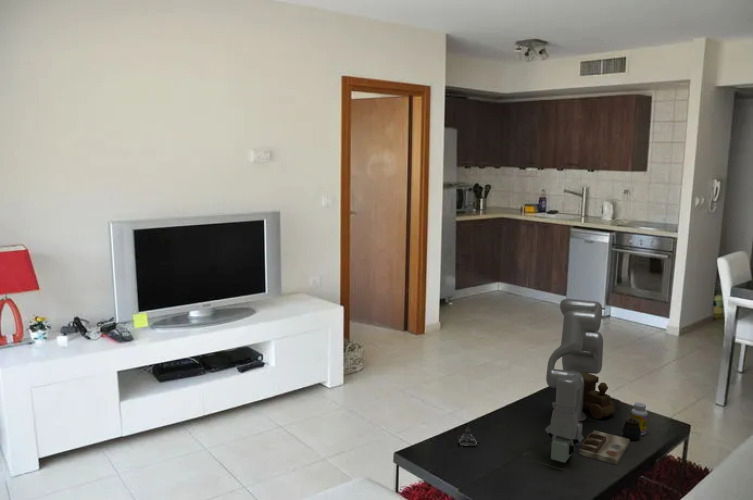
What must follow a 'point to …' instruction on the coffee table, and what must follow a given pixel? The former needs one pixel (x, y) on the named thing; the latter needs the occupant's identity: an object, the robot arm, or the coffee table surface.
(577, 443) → the peg
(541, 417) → the coffee table surface
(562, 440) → the housing
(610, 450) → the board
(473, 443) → the house of cards
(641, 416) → the supplement bottle
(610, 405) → the wooden toy train
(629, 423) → the mate gourd
